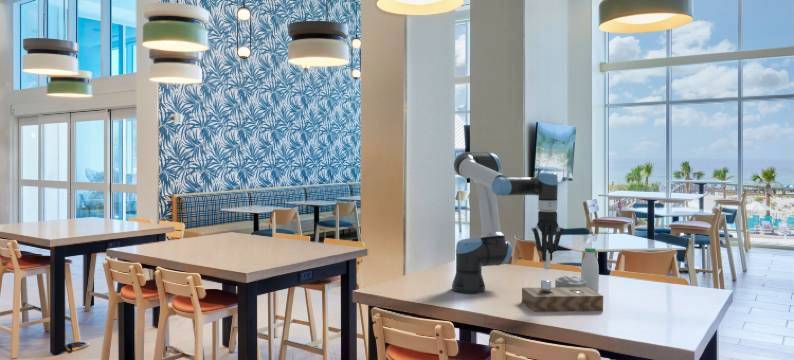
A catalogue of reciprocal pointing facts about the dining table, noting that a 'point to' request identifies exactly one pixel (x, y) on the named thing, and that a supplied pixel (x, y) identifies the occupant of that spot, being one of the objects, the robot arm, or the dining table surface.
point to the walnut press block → (562, 299)
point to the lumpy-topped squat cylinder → (569, 282)
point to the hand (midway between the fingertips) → (546, 268)
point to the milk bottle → (590, 270)
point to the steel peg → (545, 286)
